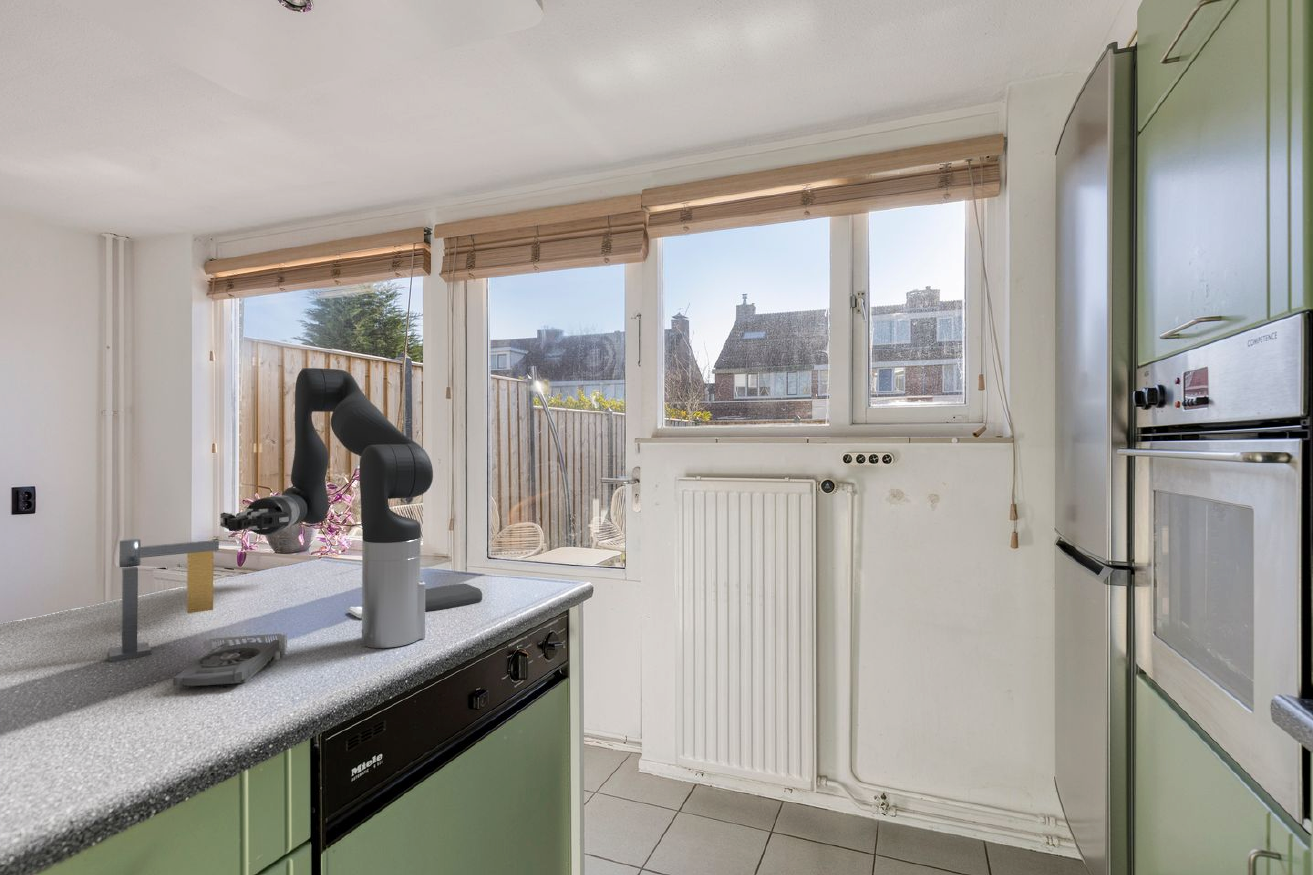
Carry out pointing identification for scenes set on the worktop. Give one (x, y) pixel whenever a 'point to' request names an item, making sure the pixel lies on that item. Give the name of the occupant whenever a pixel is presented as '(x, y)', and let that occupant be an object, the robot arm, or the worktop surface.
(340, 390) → the robot arm
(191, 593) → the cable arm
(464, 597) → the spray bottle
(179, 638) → the worktop surface
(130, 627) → the mast
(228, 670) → the graphics card
